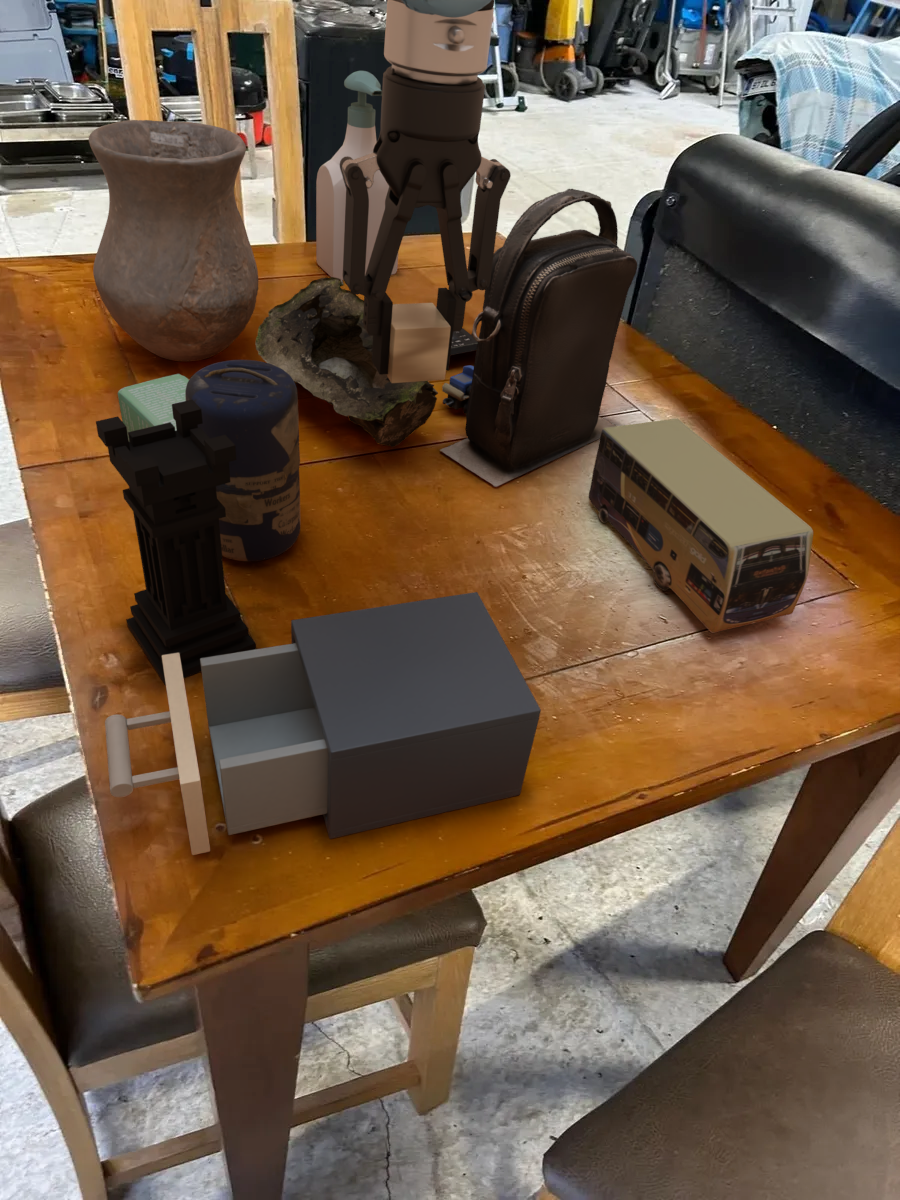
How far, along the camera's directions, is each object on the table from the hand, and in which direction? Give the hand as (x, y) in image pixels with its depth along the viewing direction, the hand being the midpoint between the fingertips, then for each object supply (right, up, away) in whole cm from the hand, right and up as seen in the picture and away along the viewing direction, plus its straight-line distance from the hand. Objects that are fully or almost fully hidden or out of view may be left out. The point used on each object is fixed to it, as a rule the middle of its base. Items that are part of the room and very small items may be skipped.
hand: (410, 364), depth 80 cm
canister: (-16, -15, +7) cm, 23 cm away
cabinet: (0, -33, -11) cm, 35 cm away
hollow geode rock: (-9, +1, +26) cm, 28 cm away
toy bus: (+27, -17, +11) cm, 34 cm away
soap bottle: (-11, +30, +59) cm, 67 cm away
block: (0, 0, 0) cm, 0 cm away
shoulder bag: (+14, -2, +26) cm, 29 cm away
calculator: (+3, +13, +42) cm, 44 cm away
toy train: (+11, +6, +35) cm, 37 cm away
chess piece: (-18, -25, -4) cm, 31 cm away
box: (-25, -7, +15) cm, 30 cm away
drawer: (-11, -34, -15) cm, 39 cm away
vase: (-30, +11, +34) cm, 47 cm away
